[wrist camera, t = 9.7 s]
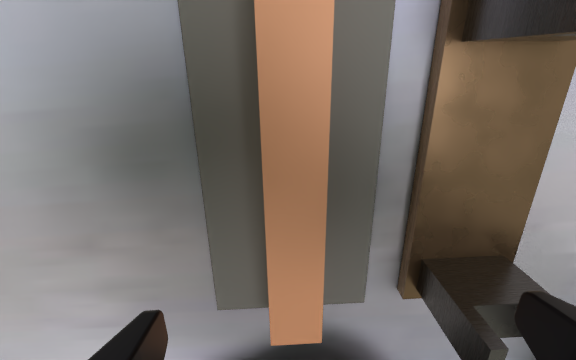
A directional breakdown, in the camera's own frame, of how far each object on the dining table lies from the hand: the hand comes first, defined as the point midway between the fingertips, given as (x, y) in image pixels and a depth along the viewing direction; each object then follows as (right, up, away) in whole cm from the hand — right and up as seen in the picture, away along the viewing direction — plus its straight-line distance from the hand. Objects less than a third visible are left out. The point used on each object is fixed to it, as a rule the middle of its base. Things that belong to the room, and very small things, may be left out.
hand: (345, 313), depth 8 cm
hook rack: (+10, +5, +10) cm, 15 cm away
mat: (-1, +4, +10) cm, 11 cm away
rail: (-1, +4, +9) cm, 10 cm away
